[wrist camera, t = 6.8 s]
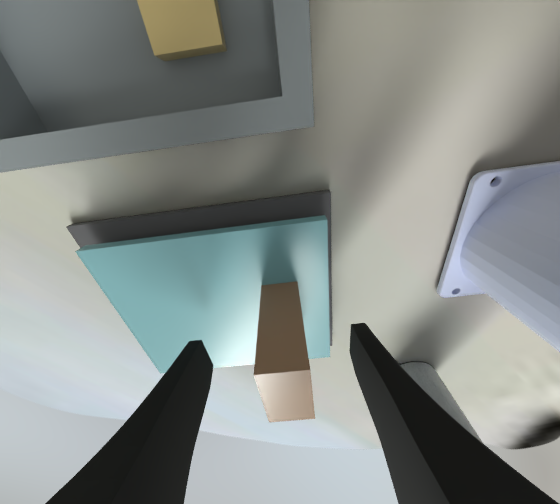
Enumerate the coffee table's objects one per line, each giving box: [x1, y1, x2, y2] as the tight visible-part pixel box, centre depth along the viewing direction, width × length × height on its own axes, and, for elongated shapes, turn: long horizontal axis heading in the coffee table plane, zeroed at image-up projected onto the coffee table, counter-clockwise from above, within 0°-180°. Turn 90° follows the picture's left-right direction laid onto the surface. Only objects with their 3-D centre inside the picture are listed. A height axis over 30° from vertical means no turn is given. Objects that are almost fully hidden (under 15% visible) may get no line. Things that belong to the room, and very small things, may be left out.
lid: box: [75, 215, 330, 422], centre depth 11 cm, size 12×10×6 cm
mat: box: [67, 190, 332, 346], centre depth 14 cm, size 14×12×1 cm
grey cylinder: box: [400, 362, 483, 443], centre depth 16 cm, size 4×4×10 cm
